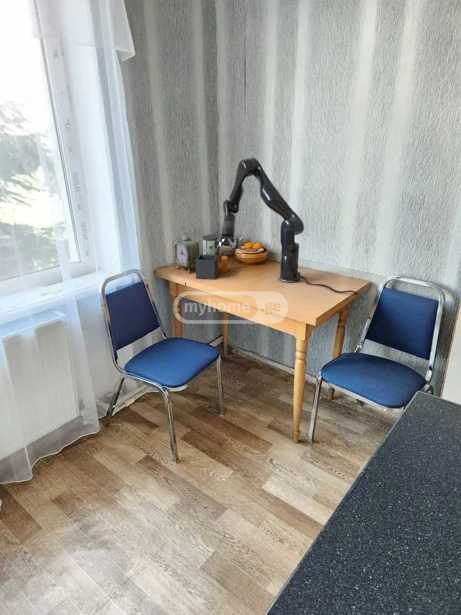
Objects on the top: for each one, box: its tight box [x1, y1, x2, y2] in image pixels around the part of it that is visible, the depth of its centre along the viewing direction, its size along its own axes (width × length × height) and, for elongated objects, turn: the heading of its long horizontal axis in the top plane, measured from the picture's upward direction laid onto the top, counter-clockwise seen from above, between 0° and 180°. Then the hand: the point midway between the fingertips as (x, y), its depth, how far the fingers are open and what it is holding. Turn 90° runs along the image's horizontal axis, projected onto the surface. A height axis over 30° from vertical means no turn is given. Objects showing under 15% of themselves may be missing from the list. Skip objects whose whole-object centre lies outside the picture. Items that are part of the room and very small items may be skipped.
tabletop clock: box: [172, 226, 200, 274], centre depth 225 cm, size 14×9×25 cm, turn 43°
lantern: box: [201, 234, 220, 261], centre depth 246 cm, size 10×10×14 cm
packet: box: [220, 255, 229, 273], centre depth 226 cm, size 3×5×8 cm, turn 172°
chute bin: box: [195, 254, 219, 280], centre depth 218 cm, size 10×10×11 cm
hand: (225, 254), depth 228 cm, fingers open, 8 cm apart
